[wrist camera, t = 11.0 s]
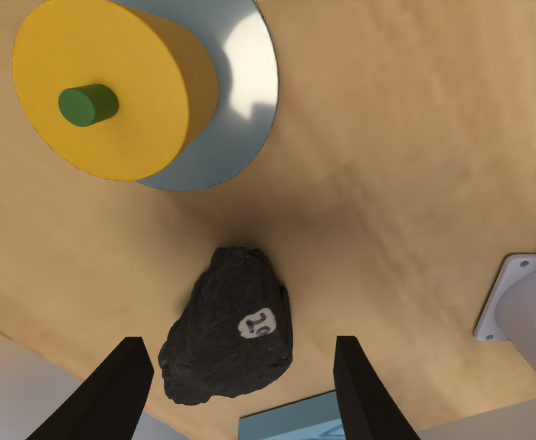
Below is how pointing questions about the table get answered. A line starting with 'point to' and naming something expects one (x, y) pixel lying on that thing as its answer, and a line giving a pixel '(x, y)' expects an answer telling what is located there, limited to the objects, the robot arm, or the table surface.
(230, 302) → the rock
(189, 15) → the saucer
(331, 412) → the decorative tile
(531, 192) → the table surface
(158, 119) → the pepper
